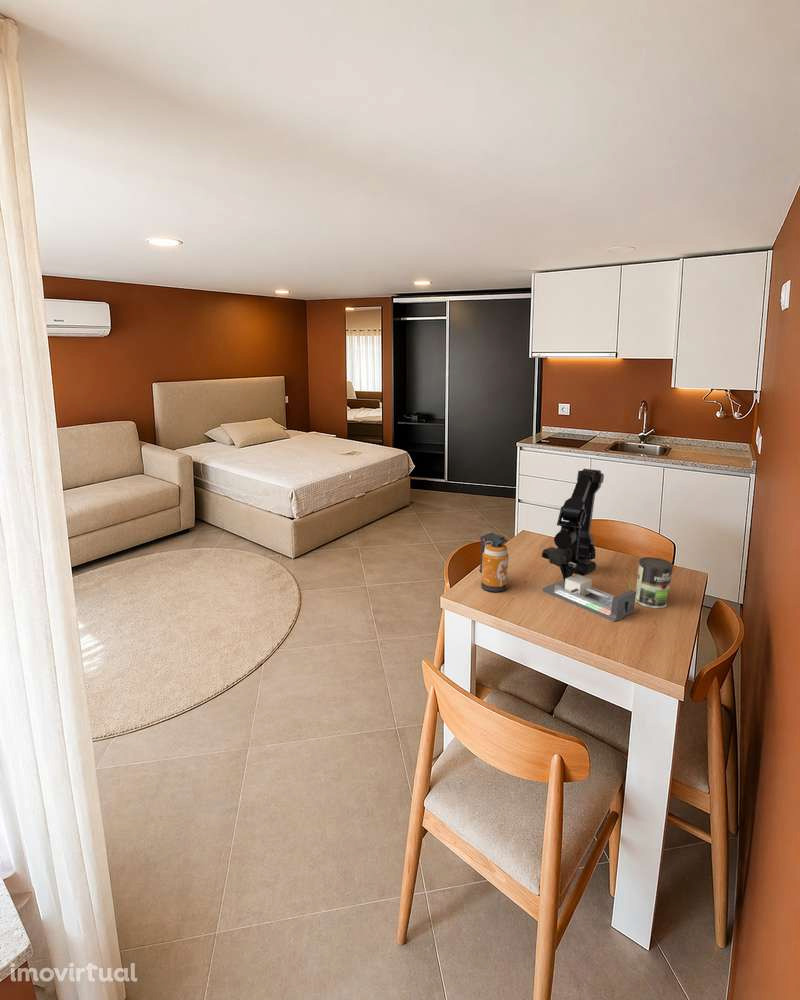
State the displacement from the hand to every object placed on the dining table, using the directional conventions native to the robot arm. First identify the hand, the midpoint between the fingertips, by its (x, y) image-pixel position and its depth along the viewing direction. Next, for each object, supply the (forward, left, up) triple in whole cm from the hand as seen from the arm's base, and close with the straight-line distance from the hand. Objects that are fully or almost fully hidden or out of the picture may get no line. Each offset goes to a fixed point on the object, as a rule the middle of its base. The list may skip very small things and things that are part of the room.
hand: (566, 582), depth 190 cm
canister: (+18, -18, -4) cm, 26 cm away
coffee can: (-17, +22, -4) cm, 28 cm away
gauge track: (0, +9, -4) cm, 9 cm away
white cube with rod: (+2, +9, -2) cm, 10 cm away
